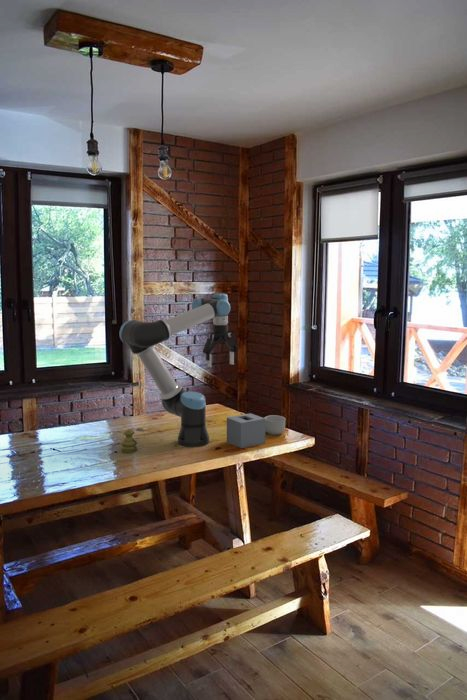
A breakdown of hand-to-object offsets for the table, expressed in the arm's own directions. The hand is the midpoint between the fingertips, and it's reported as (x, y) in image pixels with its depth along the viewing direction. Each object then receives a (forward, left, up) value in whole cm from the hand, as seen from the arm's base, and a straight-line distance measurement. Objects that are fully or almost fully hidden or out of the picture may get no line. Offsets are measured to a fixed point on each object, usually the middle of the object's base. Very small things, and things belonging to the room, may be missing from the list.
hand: (220, 365), depth 298 cm
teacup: (+26, -10, -33) cm, 43 cm away
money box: (+13, -26, -33) cm, 44 cm away
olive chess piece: (-40, -40, -33) cm, 65 cm away
